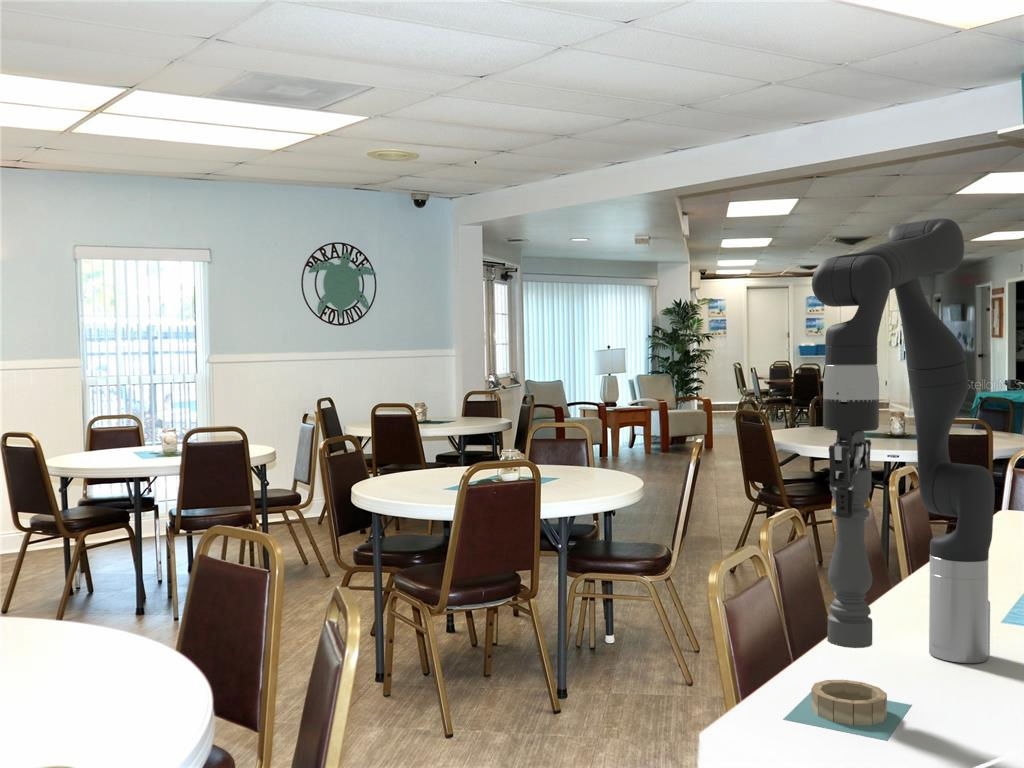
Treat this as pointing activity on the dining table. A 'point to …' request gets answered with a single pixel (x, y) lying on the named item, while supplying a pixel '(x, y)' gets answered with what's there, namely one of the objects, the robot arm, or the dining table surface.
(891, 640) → the dining table surface
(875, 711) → the segmented wooden ring
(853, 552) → the candle holder
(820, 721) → the runner mat
